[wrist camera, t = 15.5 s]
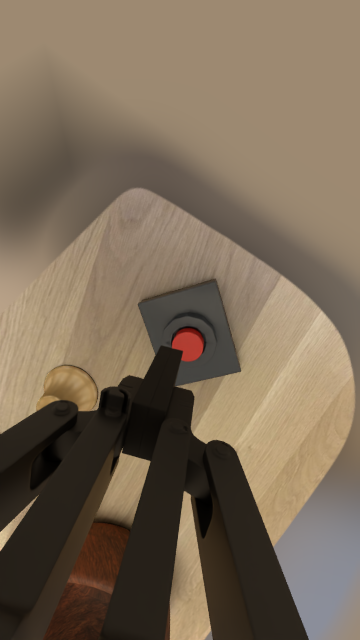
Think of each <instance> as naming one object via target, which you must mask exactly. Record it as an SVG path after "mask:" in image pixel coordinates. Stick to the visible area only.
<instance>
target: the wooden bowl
mask: <svg viewBox="0 0 360 640" xmlns="http://www.w3.org/2000/svg"><path fill="white" fill-rule="evenodd" d="M129 534H130V531H129V530H127V529H125V528H122V527H119V526H116V525H112V524H107V523H92V525H91V528H90V530H89V532H88V535H87V537H86V539H85V542H84V544H83V546H82V549H81V551H80V553H79V556H78V558H77V560H76V563H75V565H74V567H73V570H72V572H71V574H70V577H69V579H68V581H67V584H66V586H65V588H64V591H63V593H62V596H61V598H60V600H59V603H58V605H57V607H56V610H55V612H54V614H53V617H52V619H51V621H50V624H49V626H48V628H47V631H46V633H45V635H44V638H43V640H98V638H99V636H100V633H101V630H102V626H103V623H104V620H105V616H106V613H107V609H108V606H109V602H110V599H111V596H112V592H113V589H114V585H115V582H116V579H117V575H118V572H119V568H120V565H121V561H122V558H123V555H124V551H125V548H126V544H127V541H128V538H129ZM165 640H170V602H169V610H168V617H167V625H166V633H165Z"/></svg>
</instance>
